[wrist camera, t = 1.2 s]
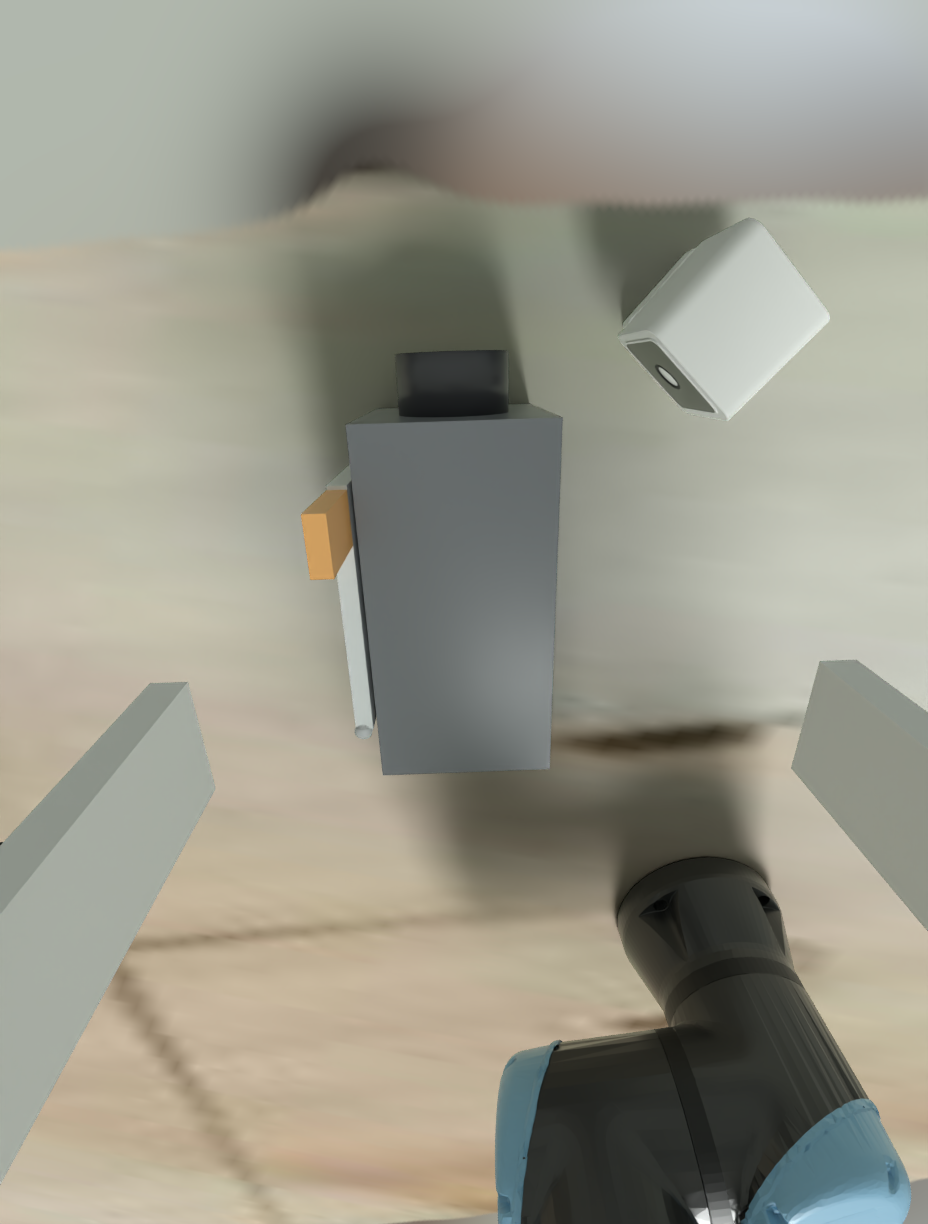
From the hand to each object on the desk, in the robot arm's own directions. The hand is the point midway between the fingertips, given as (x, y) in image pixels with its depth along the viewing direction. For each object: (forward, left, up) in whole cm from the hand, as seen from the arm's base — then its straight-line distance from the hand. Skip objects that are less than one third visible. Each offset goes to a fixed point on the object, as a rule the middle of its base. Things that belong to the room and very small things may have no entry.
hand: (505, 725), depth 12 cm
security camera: (+9, -13, -30) cm, 34 cm away
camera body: (-4, +1, -29) cm, 30 cm away
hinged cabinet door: (-5, +7, -29) cm, 30 cm away
